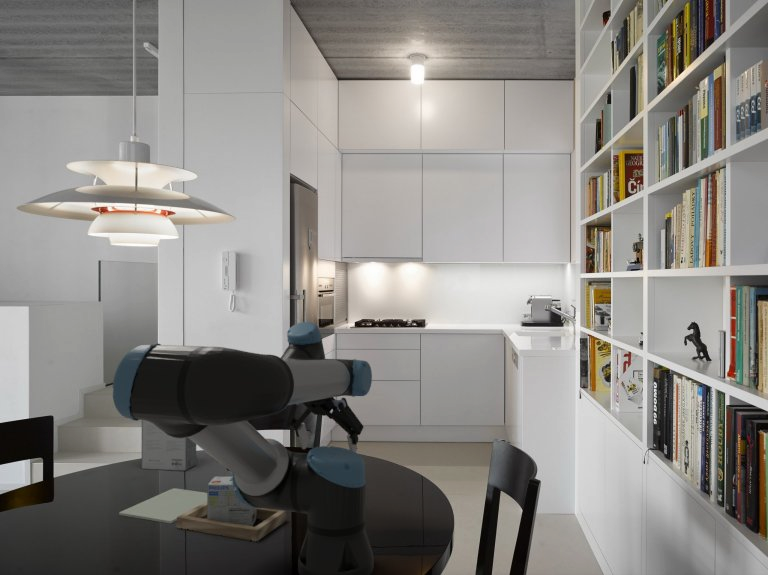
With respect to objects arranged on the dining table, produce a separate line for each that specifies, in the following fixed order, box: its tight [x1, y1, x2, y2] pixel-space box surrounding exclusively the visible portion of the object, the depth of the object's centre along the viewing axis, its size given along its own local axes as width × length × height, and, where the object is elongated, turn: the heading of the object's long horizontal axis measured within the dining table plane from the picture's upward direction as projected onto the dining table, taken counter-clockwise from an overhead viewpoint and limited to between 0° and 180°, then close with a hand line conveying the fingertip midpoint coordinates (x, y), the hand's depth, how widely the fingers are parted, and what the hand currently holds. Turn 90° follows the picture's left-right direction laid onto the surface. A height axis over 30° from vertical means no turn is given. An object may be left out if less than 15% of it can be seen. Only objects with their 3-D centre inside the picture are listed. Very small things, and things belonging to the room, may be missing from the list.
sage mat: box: [118, 487, 207, 524], centre depth 151 cm, size 20×16×1 cm
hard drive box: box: [141, 420, 197, 472], centre depth 187 cm, size 16×8×20 cm, turn 82°
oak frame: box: [176, 502, 287, 542], centre depth 139 cm, size 13×22×2 cm, turn 70°
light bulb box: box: [206, 476, 258, 527], centre depth 139 cm, size 11×7×11 cm, turn 92°
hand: (329, 449), depth 148 cm, fingers open, 13 cm apart
